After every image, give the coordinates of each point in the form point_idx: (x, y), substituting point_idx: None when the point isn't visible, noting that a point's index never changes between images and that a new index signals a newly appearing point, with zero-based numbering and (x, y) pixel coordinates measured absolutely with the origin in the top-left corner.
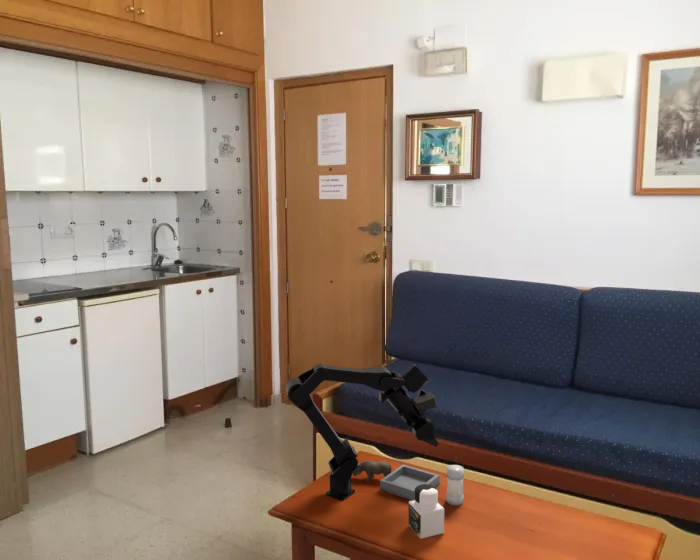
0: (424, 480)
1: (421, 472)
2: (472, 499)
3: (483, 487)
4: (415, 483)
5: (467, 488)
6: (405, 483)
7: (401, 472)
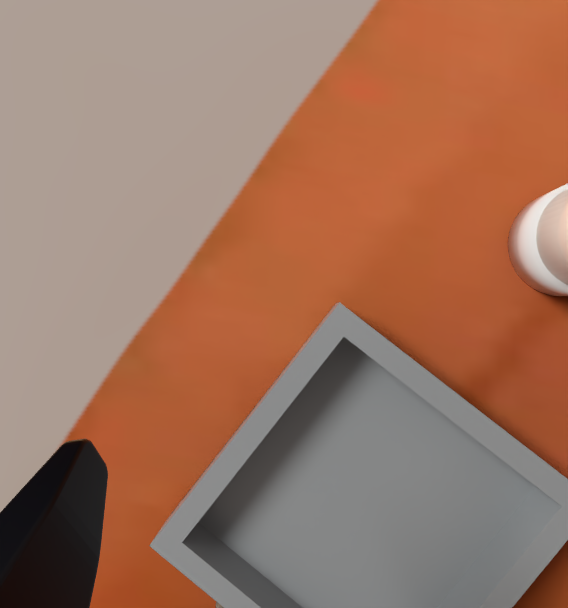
0: (311, 398)
1: (274, 423)
2: (545, 131)
3: (393, 31)
4: (349, 464)
5: (400, 135)
6: (345, 530)
7: (215, 547)
